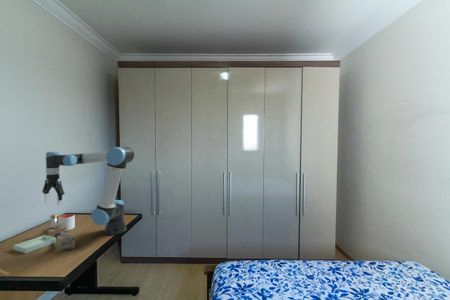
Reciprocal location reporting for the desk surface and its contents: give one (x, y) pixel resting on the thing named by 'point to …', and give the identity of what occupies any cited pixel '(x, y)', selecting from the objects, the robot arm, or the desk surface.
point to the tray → (34, 244)
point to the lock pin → (53, 221)
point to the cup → (67, 221)
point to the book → (65, 242)
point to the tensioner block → (55, 231)
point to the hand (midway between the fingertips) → (53, 203)
